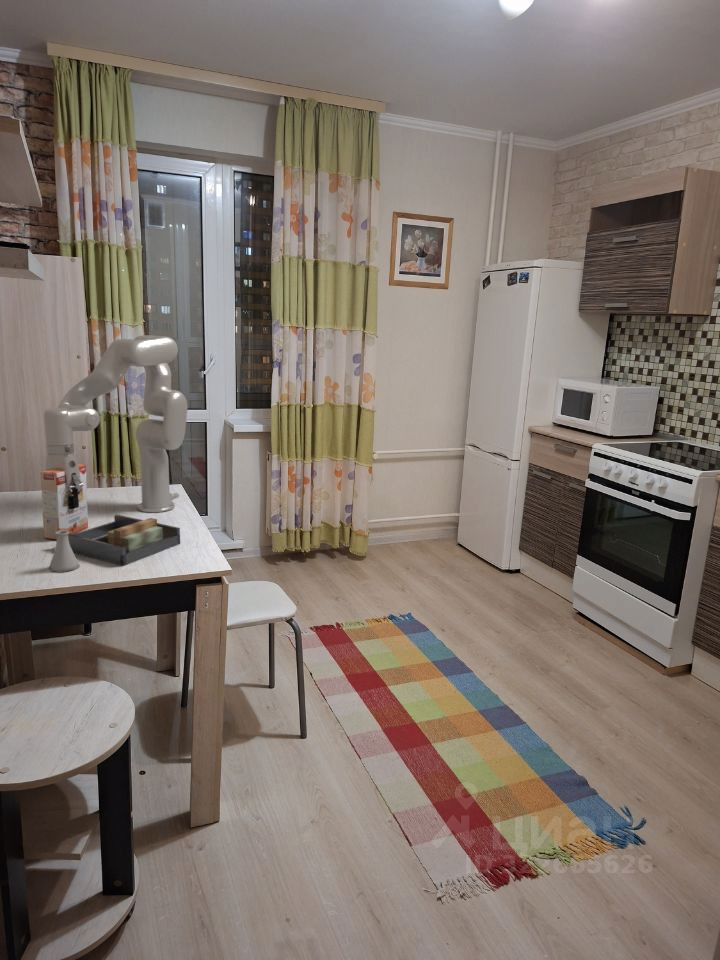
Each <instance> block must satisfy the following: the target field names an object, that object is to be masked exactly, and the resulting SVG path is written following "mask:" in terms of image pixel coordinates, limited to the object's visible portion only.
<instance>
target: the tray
mask: <svg viewBox="0 0 720 960" xmlns="http://www.w3.org/2000/svg"><path fill="white" fill-rule="evenodd" d="M113 516H114V517H113V518H114V521H112V522H108V523H105V524H102V525H98V526H95V527H92V528H87V529H84V530H82V531H79V532H77V533H75V534H68V540H69V544H70V547H71V549H72V551H73V553H74V554H76V553H77V554H76V555H79V554H80V555H79V556H83V555H84V556H83V557H87V556H88V558H92V559H95V560H99V561H103V562H107V563H111V564H114V565H118V566H127V565H129V564H132V563H134V562H137V561H140V560H142V559H143V560H144V558H147V557H151V556H153V555H155V554H158V553H160V552H163V551H165V549H166V550H168V549H171V548H173V547H175V546H178V545H180V544H181V530H180V529H181V528H180V527H177V526H173V525H168V524H164V523H159V522H157V526H158V527H162V531H163V539H162V540H159V541H156V542H154V543H151V544H148V545H145V546H143V547H140V548H137V549H135V550H132V551H129V552H126V550H125V547H122V546H118V545H113V544H109V543H108V535H107V532H108V531H112V530H115V529H118V528H121V527H124V526H127V525H130V524H133V523H136V522H139V521H143V520H144V519H140V518H137V517H136V518H135V517H130V516H126V515H122V514H114V515H113ZM170 547H171V548H170Z"/></svg>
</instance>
